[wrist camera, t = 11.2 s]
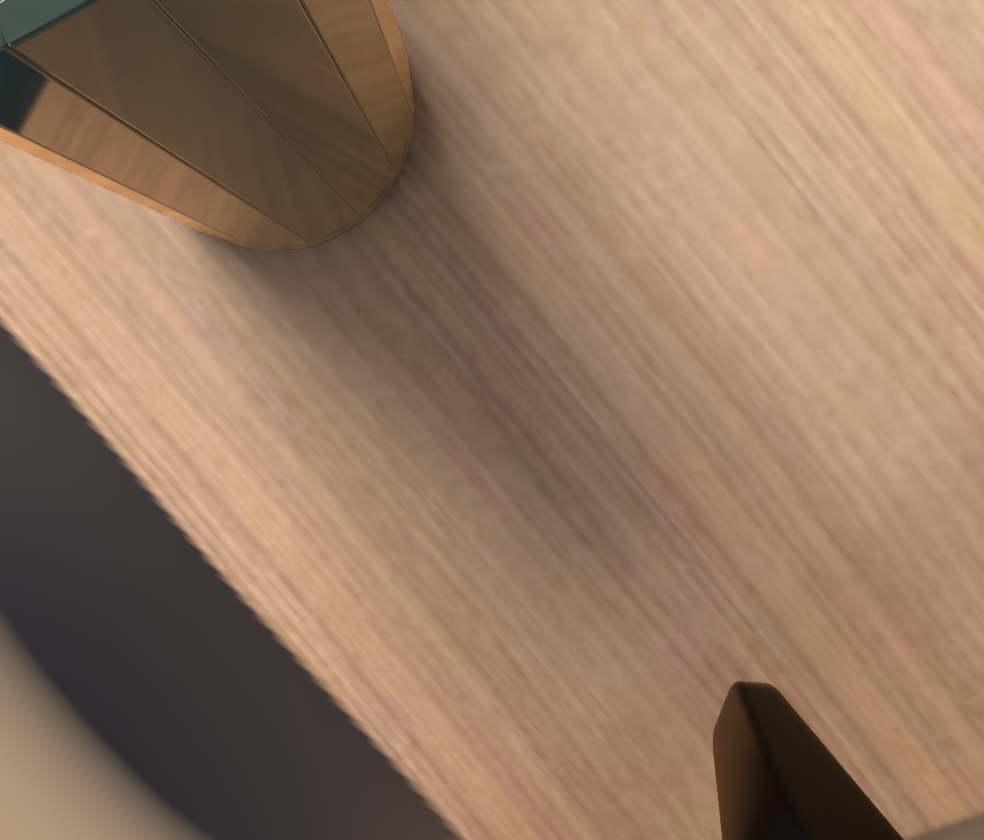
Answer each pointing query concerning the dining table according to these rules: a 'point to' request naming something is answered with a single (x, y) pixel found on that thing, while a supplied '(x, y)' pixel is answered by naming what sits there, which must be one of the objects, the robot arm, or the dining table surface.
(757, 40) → the dining table surface
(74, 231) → the dining table surface
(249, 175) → the teal mug
